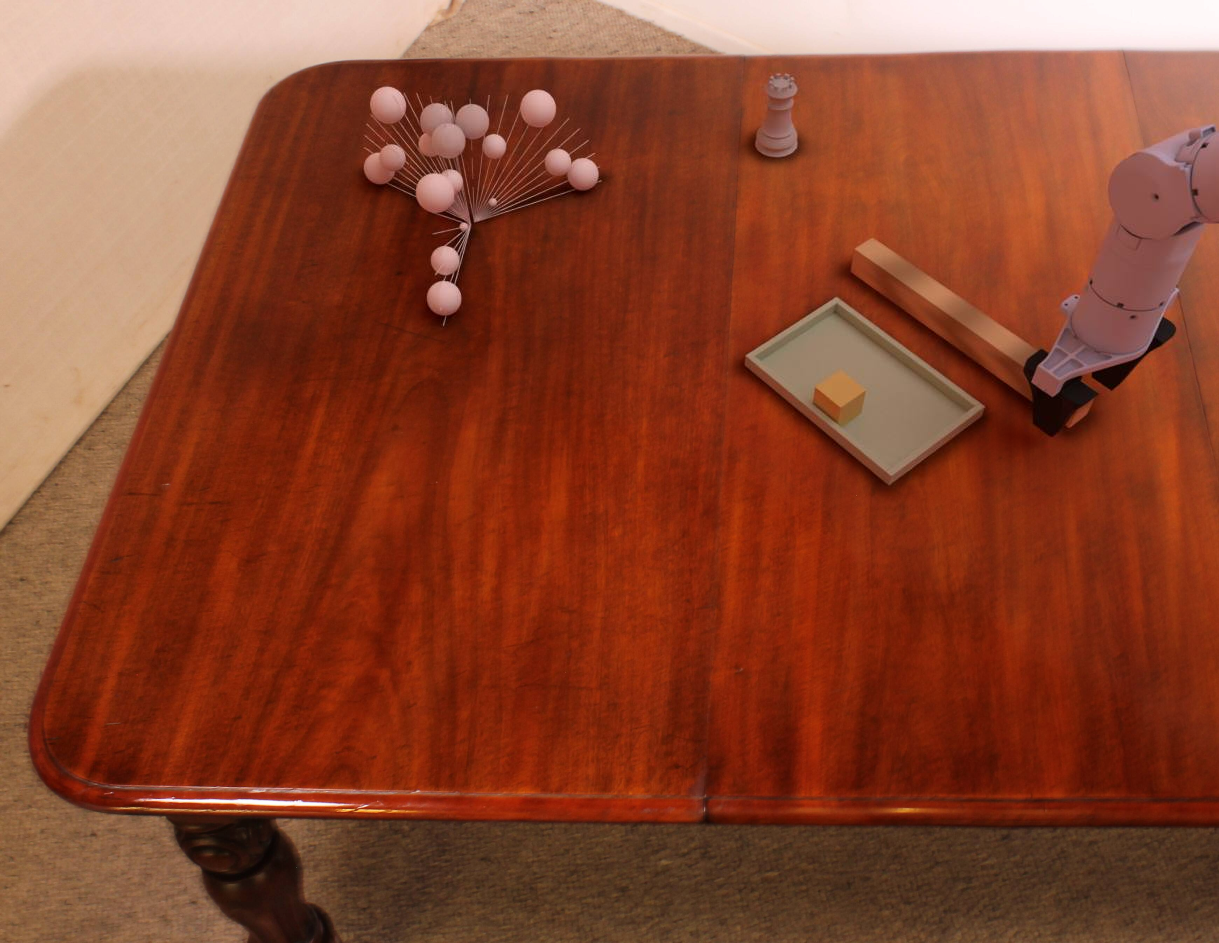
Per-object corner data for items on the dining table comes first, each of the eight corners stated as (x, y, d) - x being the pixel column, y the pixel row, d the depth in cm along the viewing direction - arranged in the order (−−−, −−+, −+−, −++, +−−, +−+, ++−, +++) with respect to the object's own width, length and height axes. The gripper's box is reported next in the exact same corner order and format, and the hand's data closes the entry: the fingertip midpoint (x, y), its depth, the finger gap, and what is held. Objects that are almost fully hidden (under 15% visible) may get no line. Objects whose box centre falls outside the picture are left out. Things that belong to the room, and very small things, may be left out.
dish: (981, 418, 91) (985, 406, 89) (888, 487, 87) (891, 476, 86) (834, 308, 99) (836, 296, 98) (744, 367, 95) (745, 355, 94)
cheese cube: (861, 413, 91) (866, 389, 89) (836, 430, 90) (840, 407, 88) (836, 392, 93) (840, 369, 90) (811, 409, 92) (814, 386, 89)
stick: (1086, 416, 90) (1098, 391, 88) (1067, 430, 89) (1079, 405, 87) (867, 262, 103) (872, 236, 100) (849, 274, 102) (853, 248, 99)
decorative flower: (314, 320, 102) (268, 201, 90) (370, 171, 115) (336, 50, 104) (575, 331, 99) (562, 210, 88) (602, 177, 112) (593, 54, 101)
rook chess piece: (752, 135, 115) (757, 68, 109) (794, 133, 115) (801, 66, 109) (756, 161, 113) (761, 94, 106) (799, 159, 112) (806, 92, 106)
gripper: (1144, 212, 82) (1090, 336, 93) (1019, 300, 78) (977, 420, 88) (1227, 260, 79) (1160, 382, 90) (1102, 355, 74) (1047, 472, 85)
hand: (1074, 404), depth 89 cm, fingers open, 7 cm apart
